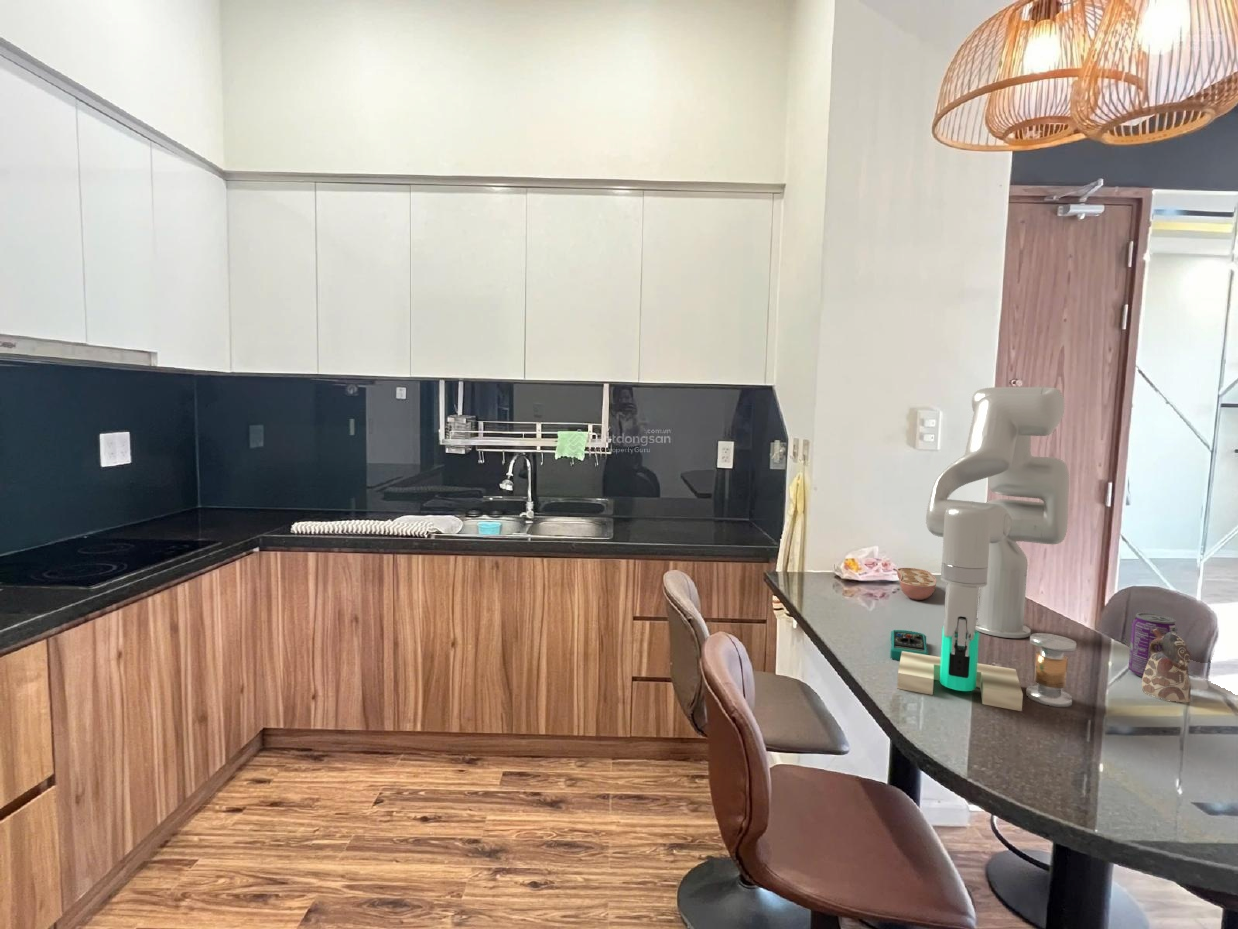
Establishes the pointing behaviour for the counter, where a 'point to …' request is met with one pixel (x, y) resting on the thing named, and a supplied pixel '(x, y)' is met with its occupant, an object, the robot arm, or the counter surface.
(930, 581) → the pink elongated rounded piece
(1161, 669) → the figurine
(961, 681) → the candle
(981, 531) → the robot arm
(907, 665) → the notched board
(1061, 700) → the bobbin post
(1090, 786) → the counter surface
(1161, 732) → the counter surface
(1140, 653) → the beverage can
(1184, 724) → the counter surface
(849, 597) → the counter surface
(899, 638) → the digital multimeter
